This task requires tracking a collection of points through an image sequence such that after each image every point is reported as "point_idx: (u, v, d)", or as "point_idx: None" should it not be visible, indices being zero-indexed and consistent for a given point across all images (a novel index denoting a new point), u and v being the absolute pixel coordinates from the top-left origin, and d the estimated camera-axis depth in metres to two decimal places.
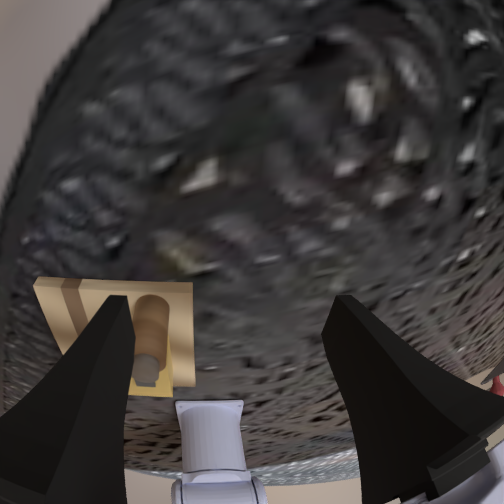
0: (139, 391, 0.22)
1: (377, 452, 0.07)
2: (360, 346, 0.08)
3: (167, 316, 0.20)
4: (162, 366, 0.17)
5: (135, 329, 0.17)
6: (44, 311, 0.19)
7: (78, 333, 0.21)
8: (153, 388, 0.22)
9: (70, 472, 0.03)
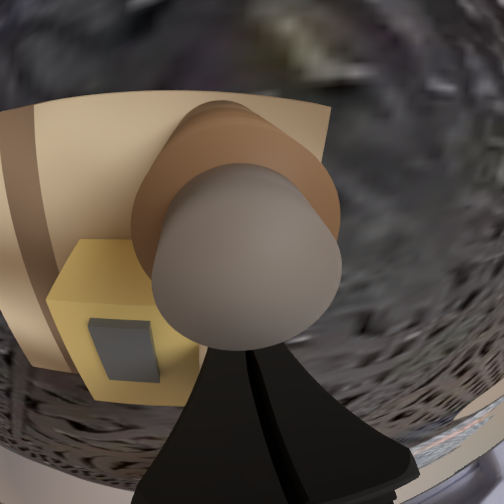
0: (119, 393, 0.08)
1: None
2: (246, 356, 0.08)
3: None
4: None
5: (190, 121, 0.04)
6: None
7: (23, 250, 0.08)
8: (154, 386, 0.08)
9: None
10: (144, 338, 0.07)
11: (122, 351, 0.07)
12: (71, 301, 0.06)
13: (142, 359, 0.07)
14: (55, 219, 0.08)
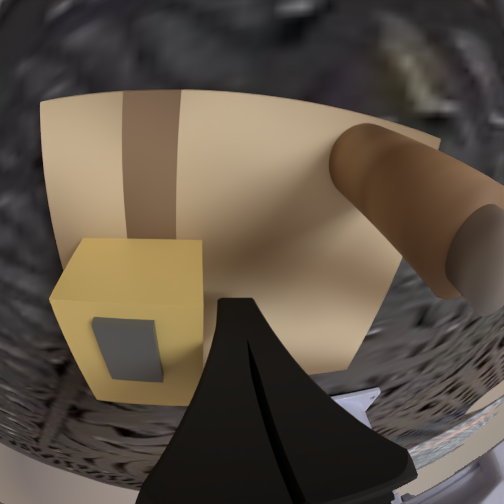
0: (121, 393, 0.08)
1: None
2: None
3: None
4: None
5: (420, 155, 0.05)
6: (50, 187, 0.07)
7: None
8: (157, 385, 0.08)
9: None
10: (148, 337, 0.07)
11: (126, 351, 0.07)
12: (75, 300, 0.06)
13: (146, 358, 0.07)
14: (189, 218, 0.09)
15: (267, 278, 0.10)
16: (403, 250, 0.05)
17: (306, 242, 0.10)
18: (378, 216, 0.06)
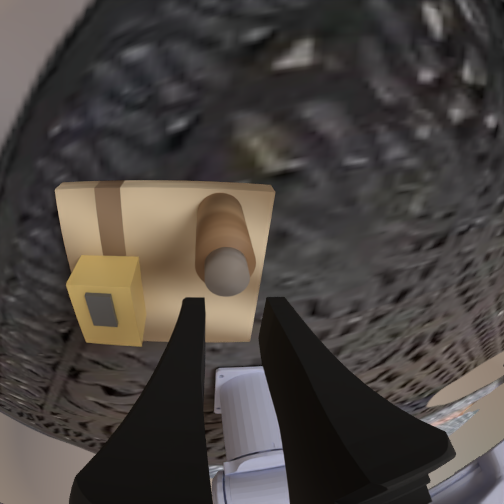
0: (99, 336, 0.17)
1: (298, 472, 0.06)
2: (283, 354, 0.08)
3: (244, 218, 0.16)
4: (248, 272, 0.13)
5: (209, 222, 0.13)
6: (63, 230, 0.15)
7: None
8: (116, 331, 0.17)
9: None
10: (108, 301, 0.15)
11: (99, 308, 0.15)
12: (77, 284, 0.14)
13: (108, 312, 0.15)
14: (131, 246, 0.17)
15: (176, 276, 0.19)
16: None
17: (193, 257, 0.18)
18: None
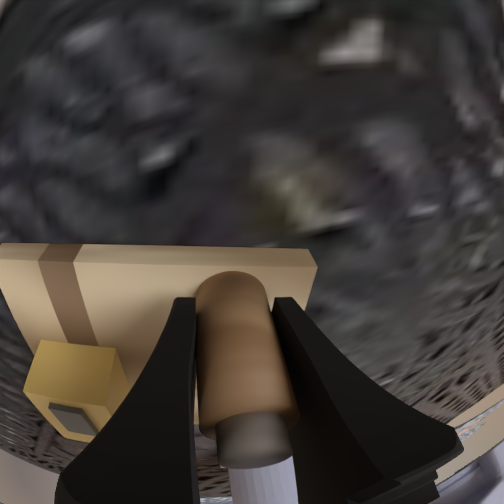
0: (78, 436, 0.11)
1: (307, 471, 0.06)
2: (292, 353, 0.08)
3: None
4: None
5: (218, 350, 0.07)
6: (12, 309, 0.10)
7: None
8: None
9: (194, 487, 0.04)
10: (80, 417, 0.09)
11: (71, 421, 0.09)
12: (37, 394, 0.08)
13: (83, 425, 0.09)
14: (103, 336, 0.11)
15: None
16: None
17: None
18: None
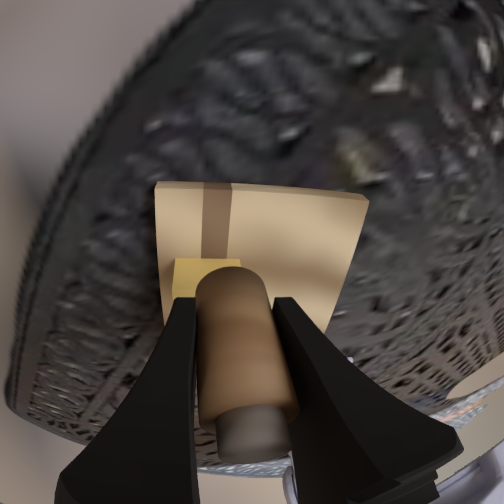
0: None
1: (307, 471, 0.06)
2: (292, 354, 0.08)
3: (271, 310, 0.10)
4: None
5: (218, 344, 0.07)
6: (158, 232, 0.17)
7: None
8: None
9: (194, 486, 0.04)
10: None
11: None
12: (186, 289, 0.16)
13: None
14: (233, 249, 0.18)
15: (272, 278, 0.20)
16: None
17: (292, 259, 0.19)
18: None
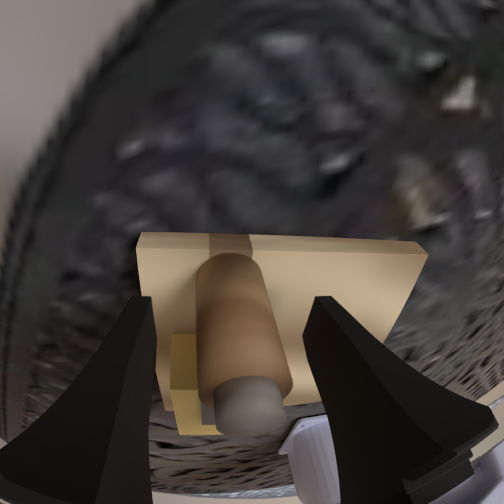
0: (201, 430, 0.13)
1: (354, 459, 0.06)
2: (337, 349, 0.08)
3: (267, 293, 0.10)
4: (280, 396, 0.08)
5: (216, 321, 0.08)
6: None
7: None
8: None
9: (112, 480, 0.03)
10: None
11: None
12: (189, 389, 0.10)
13: None
14: None
15: (298, 350, 0.15)
16: None
17: None
18: None
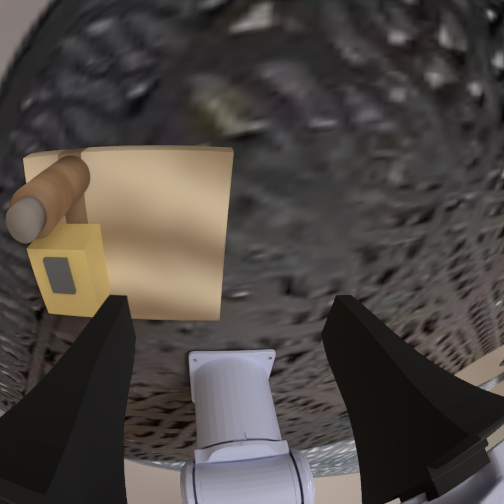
0: (60, 306, 0.15)
1: (377, 452, 0.07)
2: (360, 346, 0.08)
3: (80, 176, 0.13)
4: (50, 221, 0.11)
5: (33, 178, 0.11)
6: None
7: None
8: (75, 300, 0.15)
9: (70, 472, 0.03)
10: (64, 265, 0.14)
11: (57, 273, 0.14)
12: (37, 248, 0.13)
13: (65, 277, 0.14)
14: (92, 213, 0.16)
15: (136, 245, 0.17)
16: None
17: (152, 224, 0.17)
18: None
